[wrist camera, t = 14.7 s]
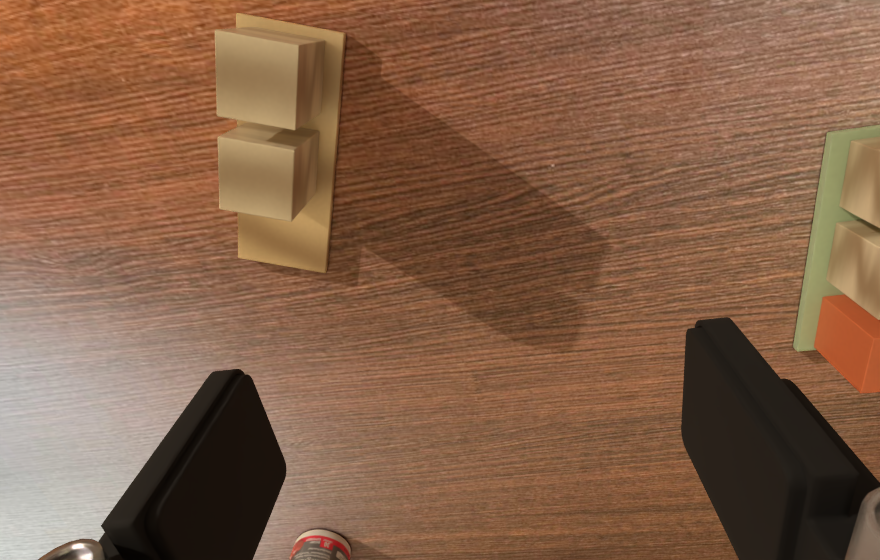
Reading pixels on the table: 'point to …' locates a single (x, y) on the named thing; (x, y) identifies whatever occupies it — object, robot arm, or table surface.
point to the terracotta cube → (850, 341)
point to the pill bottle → (320, 546)
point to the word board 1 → (318, 209)
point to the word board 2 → (823, 236)
